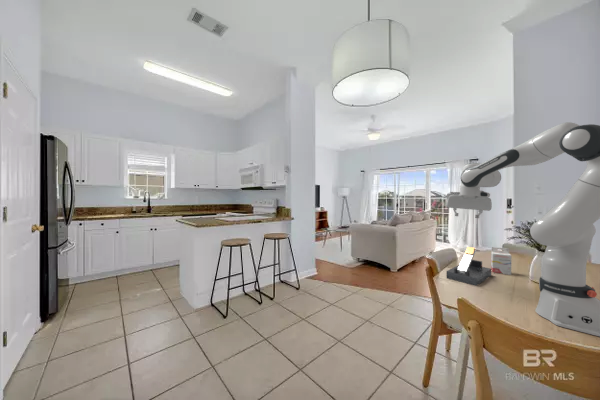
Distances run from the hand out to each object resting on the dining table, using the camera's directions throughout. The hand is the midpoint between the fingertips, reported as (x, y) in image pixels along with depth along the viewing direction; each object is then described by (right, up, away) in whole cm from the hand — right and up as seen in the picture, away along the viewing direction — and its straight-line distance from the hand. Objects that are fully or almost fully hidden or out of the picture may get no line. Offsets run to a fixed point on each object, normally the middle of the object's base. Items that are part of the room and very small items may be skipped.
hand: (466, 217), depth 125 cm
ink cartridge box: (+27, -34, +8) cm, 44 cm away
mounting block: (+4, -35, +3) cm, 35 cm away
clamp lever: (+1, -25, +1) cm, 25 cm away
